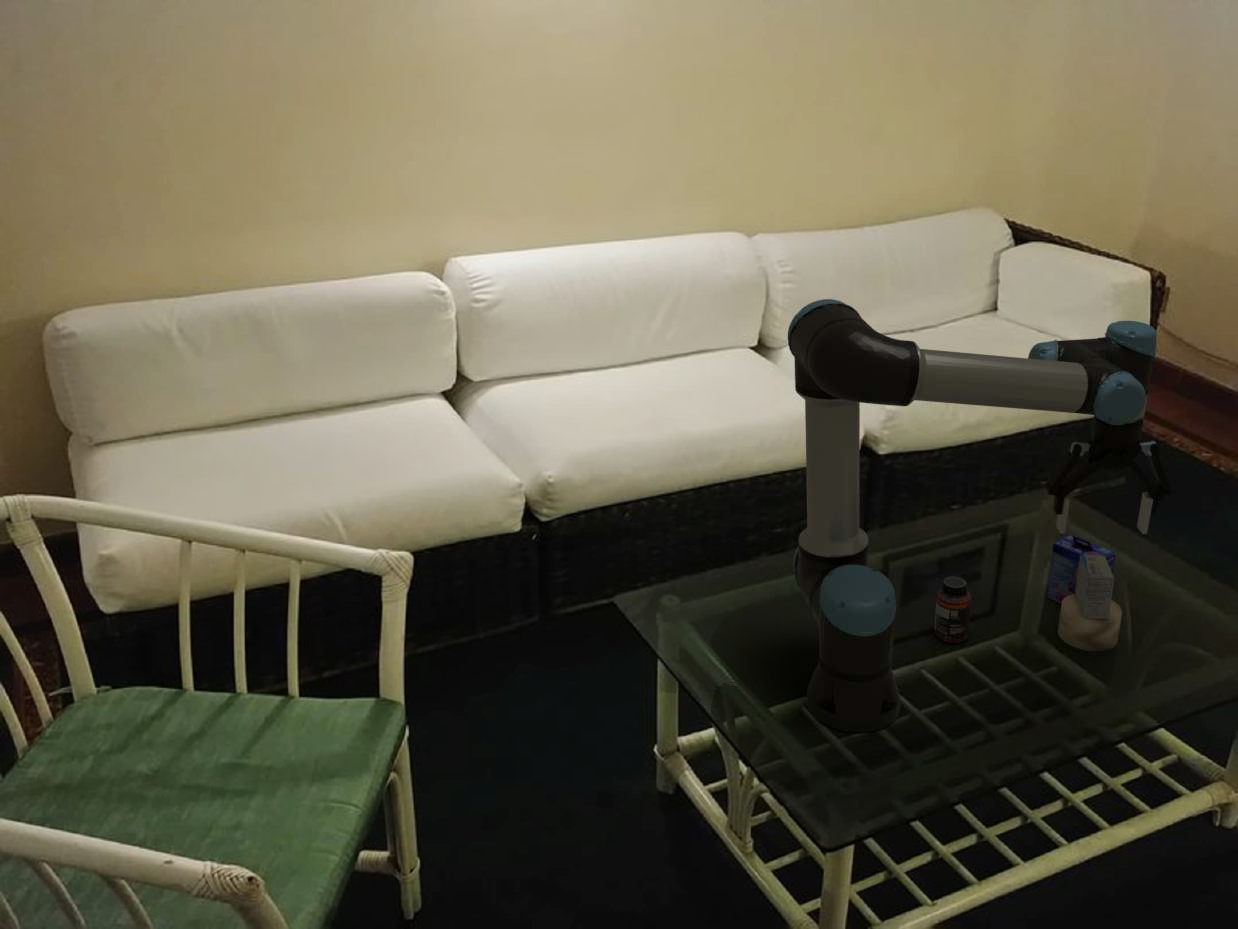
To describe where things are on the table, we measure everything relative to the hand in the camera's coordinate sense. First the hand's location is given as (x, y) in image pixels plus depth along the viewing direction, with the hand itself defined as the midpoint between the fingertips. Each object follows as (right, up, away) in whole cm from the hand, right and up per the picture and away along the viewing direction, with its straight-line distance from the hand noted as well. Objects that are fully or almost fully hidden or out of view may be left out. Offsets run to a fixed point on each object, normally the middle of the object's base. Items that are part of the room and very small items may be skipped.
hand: (1101, 530), depth 194 cm
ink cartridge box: (+3, -15, +19) cm, 24 cm away
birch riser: (+1, -20, +9) cm, 22 cm away
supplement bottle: (-23, -20, +11) cm, 32 cm away
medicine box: (+1, -14, +6) cm, 16 cm away
